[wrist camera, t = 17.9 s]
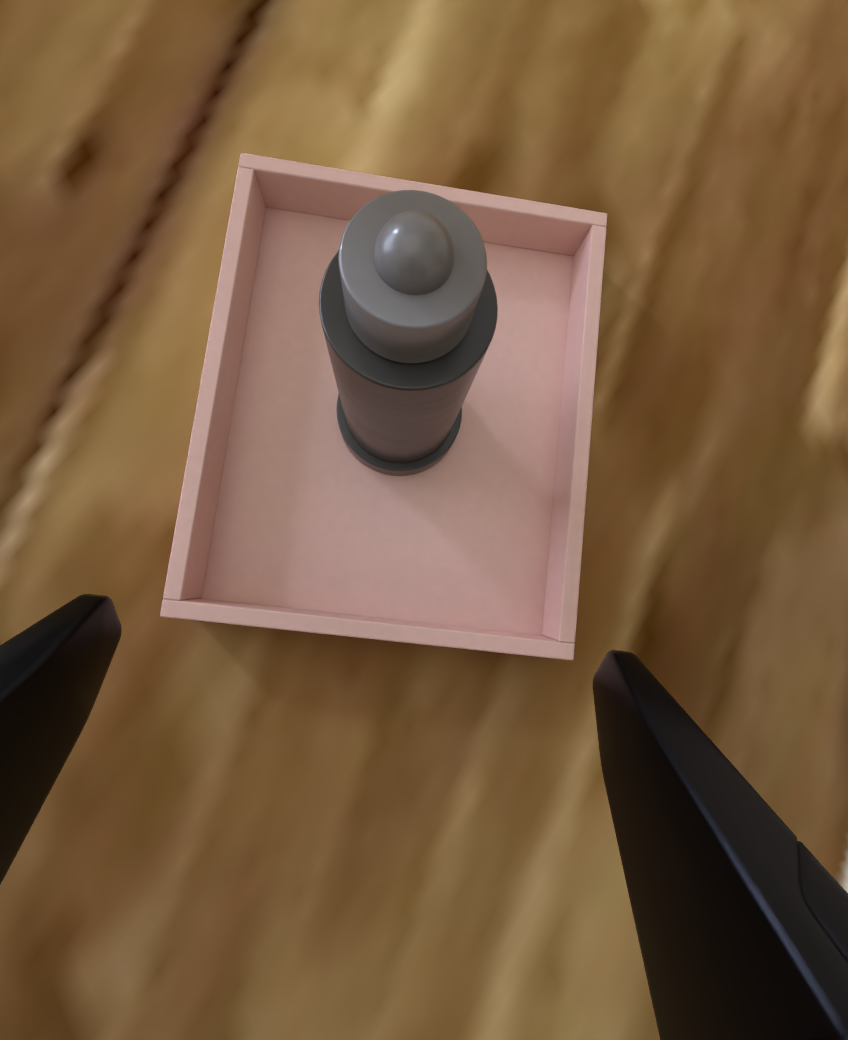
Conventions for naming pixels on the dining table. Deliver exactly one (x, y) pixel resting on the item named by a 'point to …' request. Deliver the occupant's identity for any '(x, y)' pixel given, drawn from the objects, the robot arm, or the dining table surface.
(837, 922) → the robot arm
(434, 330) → the pepper mill
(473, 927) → the dining table surface
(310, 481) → the tray
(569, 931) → the dining table surface
